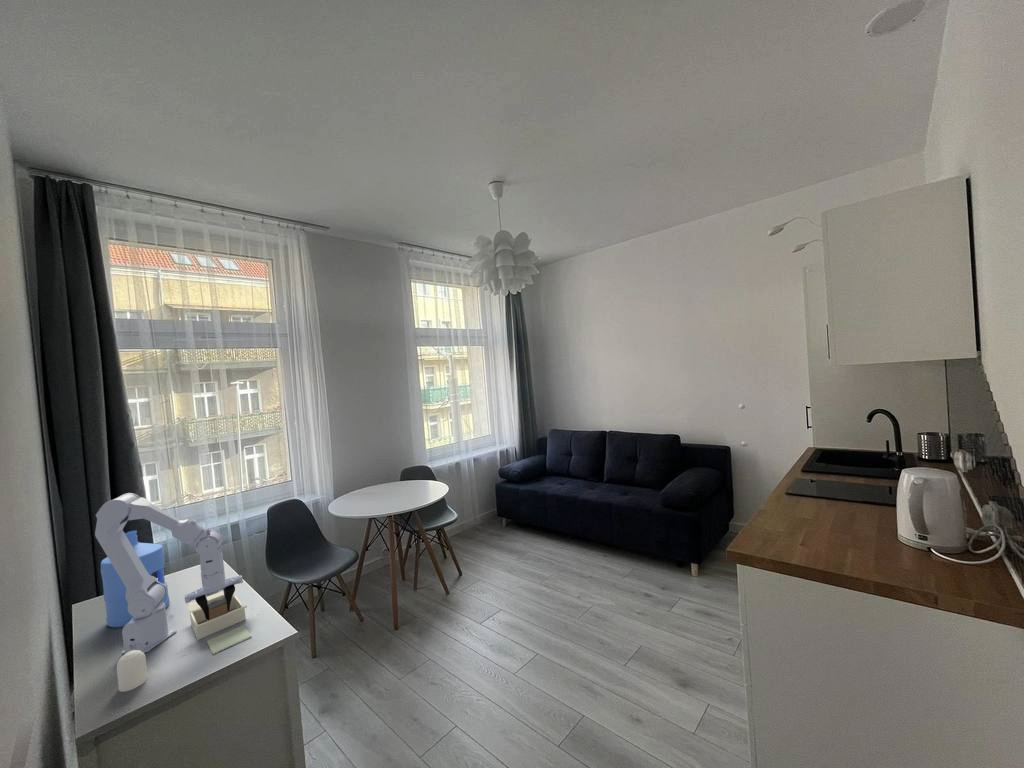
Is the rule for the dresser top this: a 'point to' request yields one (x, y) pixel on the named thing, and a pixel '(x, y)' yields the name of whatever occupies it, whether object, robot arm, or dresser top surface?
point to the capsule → (131, 670)
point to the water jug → (115, 587)
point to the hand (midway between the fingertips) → (217, 614)
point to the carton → (218, 622)
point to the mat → (228, 639)
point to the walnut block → (217, 607)
